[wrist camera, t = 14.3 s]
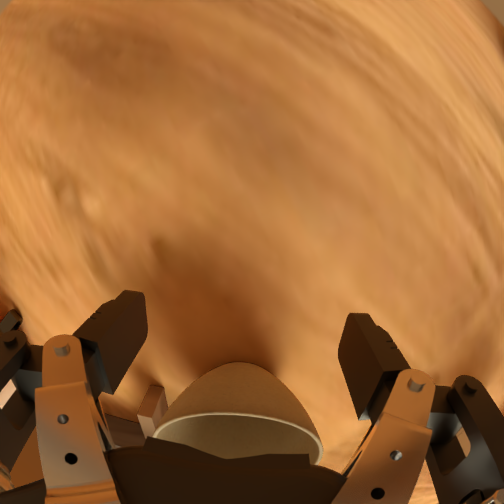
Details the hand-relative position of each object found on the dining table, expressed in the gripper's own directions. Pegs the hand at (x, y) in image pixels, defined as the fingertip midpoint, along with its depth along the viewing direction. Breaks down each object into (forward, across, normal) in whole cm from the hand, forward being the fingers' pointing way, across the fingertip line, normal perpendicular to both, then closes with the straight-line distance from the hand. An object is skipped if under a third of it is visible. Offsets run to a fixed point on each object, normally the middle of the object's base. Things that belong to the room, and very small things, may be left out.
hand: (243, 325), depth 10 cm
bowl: (+6, 0, +10) cm, 12 cm away
